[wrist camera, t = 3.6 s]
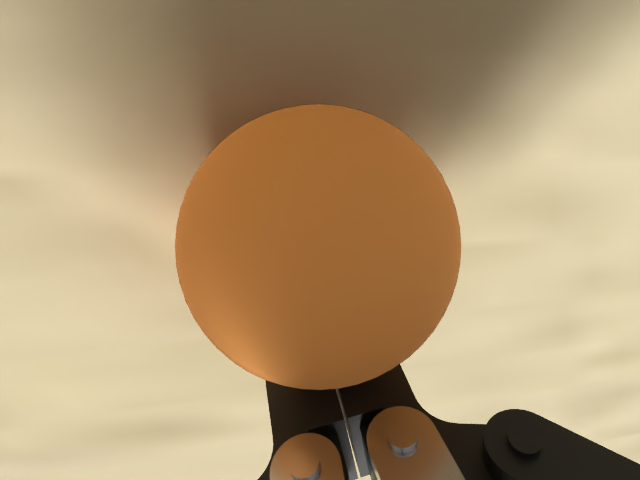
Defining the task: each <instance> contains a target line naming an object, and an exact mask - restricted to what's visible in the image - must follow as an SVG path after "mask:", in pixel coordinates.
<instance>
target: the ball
mask: <svg viewBox="0 0 640 480" xmlns="http://www.w3.org/2000/svg"><path fill="white" fill-rule="evenodd" d="M175 252H176V266H177V271H178V277H179V282H180V285H181V288H182V291H183V294H184V297H185V300H186V303H187V305H188V307H189V309H190V311H191V313H192V315H193V317H194V319H195V320H196V322H197V323H198V325H199V326H200V328H201V329H202V331H203V332H204V334H205V335H206V336H207V337H208V338H209V340H210V341H211V342H212V343H213V344H214V345H215V346H216V348H217V349H219V350H220V351H221V352H222V353H223V354H224V355H225V356H227V357H228V358H229V359H230V360H231V361H232V362H234V363H236V364H237V365H239V366H240V367H242V368H243V369H245V370H246V371H248V372H250V373H252V374H254V375H256V376H258V377H260V378H262V379H264V380H267V381H270V382H273V383H276V384H280V385H283V386H288V387H293V388H299V389H311V390H326V389H337V388H343V387H348V386H352V385H357V384H360V383H363V382H365V381H368V380H371V379H373V378H376V377H378V376H380V375H382V374H384V373H385V372H387V371H389V370H391V369H393V368H394V367H396V366H397V365H399V364H400V363H401V362H403V361H404V360H406V359H407V358H408V357H410V356H411V355H412V354H413V353H414V352H415V351H416V350H417V349H418V348H419V347H420V346H421V345H422V344H423V343H424V342H425V341H426V340H427V338H428V337H429V336H430V335H431V334H432V332H433V331H434V330H435V328H436V327H437V325H438V323H439V322H440V320H441V319H442V317H443V316H444V313H445V311H446V309H447V307H448V305H449V303H450V301H451V298H452V295H453V292H454V289H455V286H456V283H457V278H458V273H459V267H460V257H461V237H460V226H459V221H458V216H457V211H456V208H455V205H454V202H453V199H452V196H451V193H450V191H449V189H448V187H447V185H446V183H445V181H444V179H443V177H442V175H441V173H440V172H439V170H438V169H437V167H436V166H435V164H434V163H433V161H432V160H431V159H430V158H429V156H428V155H427V154H426V153H425V152H424V151H423V150H422V148H421V147H420V146H419V145H418V144H416V143H415V142H414V141H413V140H412V139H411V138H410V137H409V136H408V135H406V134H405V133H403V132H402V131H401V130H399V129H398V128H396V127H395V126H393V125H392V124H390V123H388V122H386V121H384V120H382V119H380V118H378V117H376V116H374V115H371V114H368V113H366V112H363V111H360V110H357V109H352V108H348V107H343V106H336V105H325V104H315V105H301V106H295V107H289V108H284V109H281V110H277V111H274V112H271V113H268V114H265V115H263V116H261V117H259V118H256V119H254V120H252V121H250V122H248V123H247V124H245V125H243V126H242V127H240V128H239V129H237V130H236V131H234V132H233V133H232V134H230V135H229V136H228V137H227V138H226V139H224V140H223V141H222V142H221V143H220V144H219V145H218V146H217V147H216V148H215V149H214V150H213V151H212V152H211V153H210V154H209V155H208V157H207V158H206V159H205V161H204V162H203V163H202V165H201V166H200V168H199V169H198V170H197V172H196V174H195V175H194V177H193V179H192V181H191V183H190V185H189V187H188V189H187V191H186V194H185V197H184V200H183V202H182V205H181V208H180V213H179V218H178V222H177V228H176V240H175Z"/></svg>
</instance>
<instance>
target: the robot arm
mask: <svg viewBox="0 0 640 480" xmlns="http://www.w3.org/2000/svg"><path fill="white" fill-rule="evenodd" d="M266 388H267V396H268V404H269V411H270V419H271V426H272V434H273V452H272V456H271V459H270V462H269V464H268V466H267V468H266V470H265V471H264V473H263V474H262V475H261V477H260V478H259V479H258V480H354V479H357V478H358V476H357V472H356V467H355V463H354V459H353V454H352V450H351V446H350V441H351V445H352V448H353V452H354V455H355V459H356V462H357V466H358V469H359V472H360V476H361V477H363V476H366V475H370V476H371V479H372V480H640V464H638V463H636V462H634V461H632V460H630V459H628V458H626V457H624V456H622V455H619V454H617V453H615V452H613V451H611V450H609V449H607V448H605V447H603V446H601V445H599V444H597V443H595V442H593V441H591V440H589V439H587V438H584V437H582V436H580V435H578V434H576V433H574V432H572V431H570V430H568V429H566V428H564V427H562V426H560V425H558V424H556V423H554V422H552V421H549V420H547V419H545V418H543V417H541V416H539V415H537V414H535V413H532V412H529V411H526V410H520V409H509V410H504V411H501V412H499V413H497V414H495V415H494V416H493V417H492V418H491V419H490V420H489V421H488V423H487V424H486V425H485V424H458V423H450V422H446V421H443V420H440V419H437V418H436V417H434V416H432V415H430V414H429V413H428V412H426V411H425V410H424V409H423V408H422V407H421V406H420V404H419V403H418V402H417V400H416V398H415V396H414V394H413V392H412V390H411V387H410V385H409V383H408V381H407V379H406V376H405V374H404V372H403V370H402V368H401V366H400V364H399V365H397V366H396V367H394V368H393V369H391V370H389V371H387V372H385V373H384V374H382V375H380V376H378V377H376V378H373V379H371V380H368V381H365V382H363V383H360V384H357V385H352V386H348V387H343V388H337V389H326V390H311V389H299V388H293V387H288V386H283V385H280V384H276V383H273V382H270V381H267V380H266ZM346 427H347V429H346ZM347 431H348V433H347ZM348 434H349V437H348ZM349 438H350V441H349Z"/></svg>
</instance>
